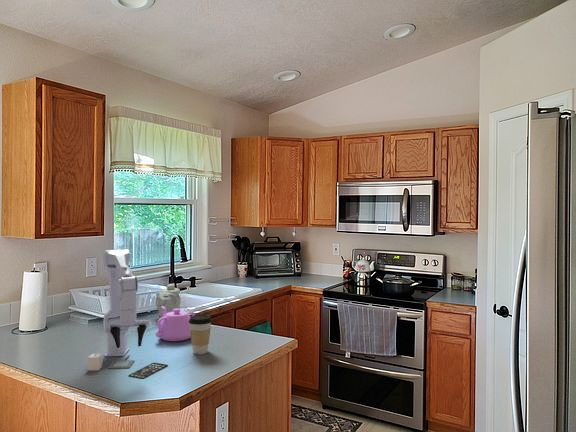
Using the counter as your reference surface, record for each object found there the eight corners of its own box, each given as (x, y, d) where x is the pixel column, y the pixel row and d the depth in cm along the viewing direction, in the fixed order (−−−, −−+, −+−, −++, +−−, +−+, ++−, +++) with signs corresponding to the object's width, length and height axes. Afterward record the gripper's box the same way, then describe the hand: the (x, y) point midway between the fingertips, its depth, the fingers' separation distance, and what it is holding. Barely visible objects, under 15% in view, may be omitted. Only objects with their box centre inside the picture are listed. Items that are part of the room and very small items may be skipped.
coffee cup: (203, 346, 197) (203, 313, 197) (216, 351, 190) (216, 317, 190) (184, 351, 191) (184, 316, 190) (196, 357, 184) (196, 321, 183)
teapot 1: (157, 322, 238) (157, 287, 237) (148, 317, 250) (148, 283, 250) (186, 318, 247) (186, 285, 247) (176, 313, 260) (176, 281, 259)
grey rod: (127, 356, 184) (127, 354, 184) (129, 356, 184) (129, 354, 184) (123, 360, 179) (123, 359, 179) (125, 360, 179) (125, 359, 179)
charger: (91, 366, 172) (91, 353, 172) (102, 366, 172) (102, 353, 172) (87, 370, 168) (87, 357, 168) (98, 370, 168) (98, 356, 168)
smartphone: (126, 375, 163) (153, 362, 176) (127, 377, 163) (153, 364, 176) (143, 378, 160) (169, 364, 174) (143, 380, 160) (169, 366, 174)
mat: (114, 361, 178) (114, 360, 178) (134, 361, 178) (134, 360, 178) (107, 368, 170) (107, 367, 170) (129, 368, 170) (129, 367, 170)
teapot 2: (179, 328, 228) (179, 301, 227) (206, 336, 213) (206, 307, 213) (140, 337, 211) (140, 308, 211) (166, 347, 197) (167, 316, 196)
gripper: (104, 312, 160) (105, 350, 159) (145, 309, 162) (146, 347, 161) (110, 309, 167) (111, 346, 166) (150, 307, 169) (150, 343, 168)
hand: (129, 346), depth 164 cm, fingers open, 7 cm apart
